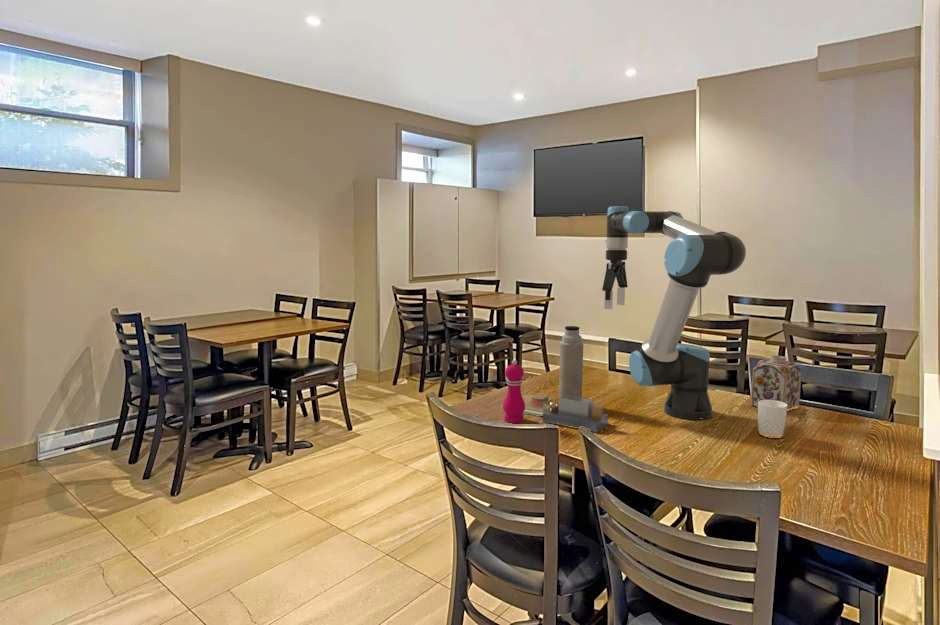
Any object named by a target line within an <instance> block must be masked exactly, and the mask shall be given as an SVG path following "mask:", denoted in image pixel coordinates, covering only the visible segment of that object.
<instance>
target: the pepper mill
mask: <svg viewBox="0 0 940 625" xmlns="http://www.w3.org/2000/svg"><path fill="white" fill-rule="evenodd" d="M524 373H525V371H524V368H523V367H522V365H519V364H518V361H517V360H516V359H513V360H512V361H511V364H509V365H508V366H506V367H505V370H504V376H505V377H506V378H507V379H506V384H507V392H506V395H505V398H504V401H503V404H502V409H503V411H504V412H505V413H504V414H503V415H504V417H503V419H504V421H505V422H506V423H510V422H512V423H513V424H517V423H518V424H519V423H522V422H524V419H525V418H524V416H525V414H523V412H524V410H525V403H524V400H523V398H522V396H523V395H522V391H521V390H522V389H521V387H522V384H523V377H524V375H525V374H524ZM512 423H511V424H512Z"/></svg>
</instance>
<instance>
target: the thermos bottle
mask: <svg viewBox="0 0 940 625" xmlns="http://www.w3.org/2000/svg"><path fill="white" fill-rule="evenodd" d="M564 329H565V330H564V334H563V335H562V338H561V341H560V342H559V371H558V372H559V373H558V374H559V377H558V379H559V381H558V383H559V385H558V399H559V398H560V397H561V396H563V395H568V396H574V397H580V398H583V375H584V374H583V371H584V370H583V368H584V360H583V359H584V342H582V339H583V338H582V335H580V326H576V325H566V326H565V327H564Z"/></svg>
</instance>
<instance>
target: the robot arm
mask: <svg viewBox="0 0 940 625" xmlns="http://www.w3.org/2000/svg"><path fill="white" fill-rule="evenodd" d="M629 209H630V208H629V207H628V206H626V205H625V206H624V205H623V206H621V205H620V206H619V205H618V206H617V205H615V206H608V207H607V214H606V239H605V243H606V244H605V245H606V250H605V259H606V260H607V261H610V262H609V263H608V262H606V265H605V266H606V270H605V275H604V280H603V285H602V289H601V291H602V292H603V291H604V306H603V308H604V310H613V300H614V298H613V297H614V292H613V288H614V285H615V281H616V282H617V286H618V287H617V289H616V305H618V306H624V305H625V298H626V297H625V295H626V288H628V286H629V285H628V279H627V271H626V270H627V269H626V261H627V259H628V251H627V249H628V244H629V243H628V240H629V237H628V235H629V234H631V235H633V234H636V235H637V234H662V235H664V236H666V237H668V238H670V239H671V241H670V242H669V244H668V245H667V247H666V249H665V252H664V256H663V257H664V258H663V259H665V260H664V261H663V262H664V268H665V270H666V272H667V276H668V278H669V283H668V285H667V288H666V290H665V293H664V297H663V299H662V303H661V305H660V308H659V311H658V313H657V316H656V318H655V319H656V320H655V322H654V324H653V328H652V331H651V333H650V335H649V338H648V339H645V340H644V341H643V342H642V344H641V346H640V350H634V351H632V352H631V353H629V354H630V355H629V358H628V367H629V373H630V376H631V378H632V380H633V381H634V382H635V384H636V385H638V386H641V387H649V388H650V387H656V386H667V385H670V390H669V392H668V395H667V397H666V400H665V401H664V404H663V405H664V409H663V410H664V413H666V414H667V415H669V416H672V417H674V418H678V419H683V418H684V420H693V419H699V420H701V419H700V418H707V417H710V416H711V415H712V416H713V406H712V404H711V400H710V397H709V393H708V391H709V390H708V387H709V374H710V373H709V372H710V363H711V361H710V358H711V357H710V351H709V350H708V349H707V348H706V347H705V348H704V347H702V346H699V345H695V344H694V345H693V344H689V343H682V342H680V343H679V341H680V339H681V336H682V334H683V331H684V329H685V327H686V324H687V321H688V319H689V316H690V314H691V312H692V309H693V306H694V304H695V300H696V299H697V296H698V293H699V291H700V289H702V288H706V286H707V285H708V283H709V281H710V278H711V276H715V275H717V276H718V275H720V276H721V275H726V274H728V275H729V274H731V273H733V272H735V271H736V270H738V269H739V268H740V267H741V266H742V265H743V263H744V261H745V258H746V256H747V255H746V254H747V249H746V245H745V244H744V242H743V240H741V238H740V237H738V236H736V235H734V234H732V233H729V232H726V231H718V232H717V231H715V230H713V229H710V228H708V227H705V226H703V225H700V224H697V223H695V222H693V221H691V220H687V219H686V218H684V217H683V215H682V213H681V212H679V211H672V210H669V211H667V210H666V211H650V210H649V211H648V210H647V211H645V210H643V211H640V210H631V211H630V210H629ZM712 416H711V417H712ZM711 417H710V418H711ZM707 419H708V418H707Z"/></svg>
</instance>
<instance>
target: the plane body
mask: <svg viewBox="0 0 940 625" xmlns="http://www.w3.org/2000/svg"><path fill="white" fill-rule="evenodd" d="M544 422H547V423H546V424H549V423H553V424H552V425H554V424H557V423H559V424H560V425H562V424H563V425H568V426H573V427H577V428H578V427H580V426H584V427H586V428H588V429H590V430H591V431H593V432H592V433H596V434H597V433H598V432H599V431H600V430H602V429H603V428H605V426H607V425H608V424H609V414H608V413H607V414H606V413H605V405H603V404H599V403H594V399H591V398H584V397H582V398H580V397H574V396H568V395H563V396H561V397H560V398H559V397H558V401H552V402H550V409H549V410H548V411H546V412H544V413H543V417H542V423H544Z"/></svg>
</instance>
